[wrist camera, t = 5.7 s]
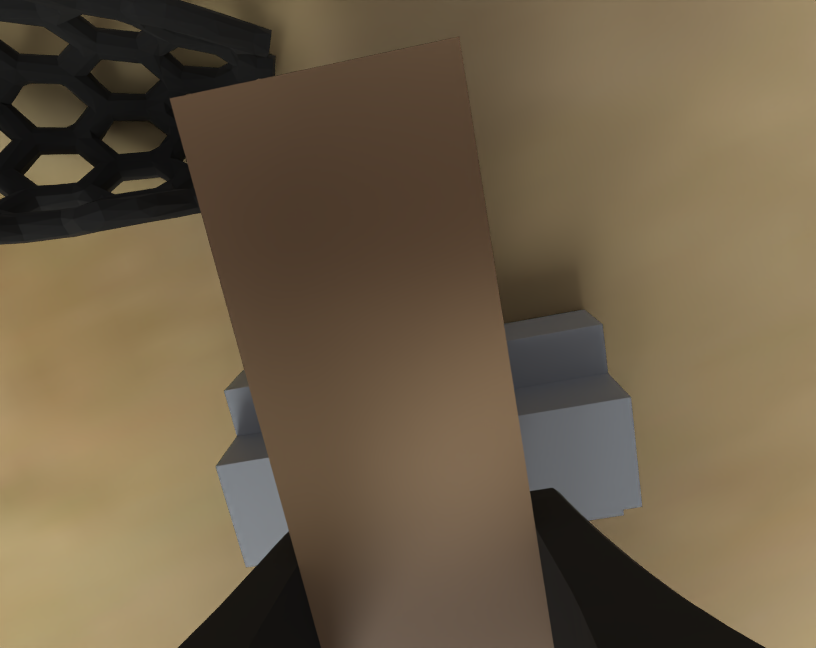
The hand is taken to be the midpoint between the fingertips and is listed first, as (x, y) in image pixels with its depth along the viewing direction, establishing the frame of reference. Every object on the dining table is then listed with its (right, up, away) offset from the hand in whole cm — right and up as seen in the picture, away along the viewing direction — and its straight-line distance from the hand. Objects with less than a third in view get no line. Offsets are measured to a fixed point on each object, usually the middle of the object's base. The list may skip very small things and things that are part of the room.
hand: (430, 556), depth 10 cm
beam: (0, 0, +2) cm, 2 cm away
